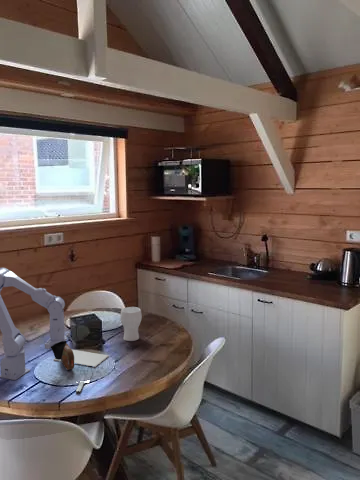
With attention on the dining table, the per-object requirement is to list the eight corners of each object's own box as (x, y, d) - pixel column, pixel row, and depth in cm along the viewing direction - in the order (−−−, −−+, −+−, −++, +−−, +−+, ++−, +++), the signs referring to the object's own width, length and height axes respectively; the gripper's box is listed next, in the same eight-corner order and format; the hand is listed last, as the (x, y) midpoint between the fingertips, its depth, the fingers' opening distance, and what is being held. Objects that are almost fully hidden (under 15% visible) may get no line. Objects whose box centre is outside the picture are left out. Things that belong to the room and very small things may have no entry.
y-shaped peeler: (84, 393, 158) (84, 391, 158) (71, 393, 158) (71, 391, 158) (93, 373, 175) (93, 371, 175) (81, 373, 175) (81, 371, 175)
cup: (143, 334, 218) (143, 306, 215) (139, 342, 207) (139, 313, 205) (123, 334, 219) (123, 306, 216) (118, 341, 208) (118, 312, 206)
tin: (59, 358, 187) (57, 341, 185) (66, 356, 188) (64, 339, 186) (69, 373, 174) (67, 355, 172) (76, 371, 176) (74, 353, 174)
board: (95, 367, 180) (95, 366, 180) (53, 360, 186) (53, 359, 186) (108, 356, 191) (108, 355, 191) (69, 350, 198) (68, 349, 198)
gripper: (54, 334, 164) (56, 367, 166) (75, 322, 178) (76, 353, 180) (39, 332, 167) (41, 364, 169) (61, 320, 180) (62, 351, 182)
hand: (58, 358), depth 174 cm, fingers closed
